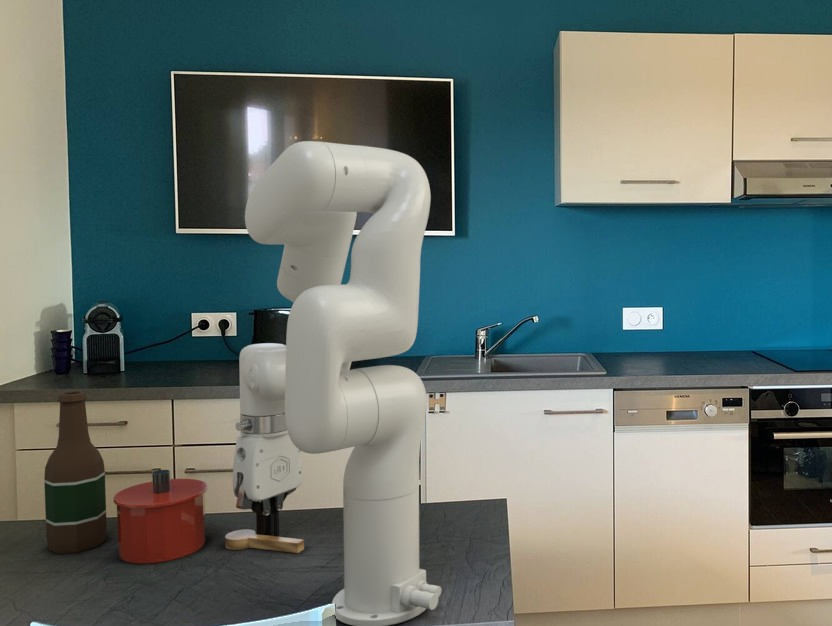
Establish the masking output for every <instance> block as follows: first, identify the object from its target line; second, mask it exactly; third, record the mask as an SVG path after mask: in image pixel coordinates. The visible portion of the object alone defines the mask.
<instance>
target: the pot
mask: <svg viewBox="0 0 832 626" xmlns="http://www.w3.org/2000/svg"><path fill="white" fill-rule="evenodd" d="M116 523H117V549H118V550H117V552H118V556H119V557H118V558H119V559H120V560H122V561H124V562H126V563H131V564H155V563H157V564H158V563H163V562H168V561H173V560H178V559H180V558H181V559H182V558H185V557H186V556H189V555H191V554H194V553H196V552H198V551H200V549H201V548H203V547H204V545H205V544H206V538H207V532H206V531H207V529H206V524H207V523H206V492H205V493H204V494H202V495H201V496H199V497H197V498H194V499H192V500H189V501H186V502H182V503H178V504H173V505H168V506H162V507H153V508H127V507H121V506H118V505H116Z"/></svg>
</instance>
